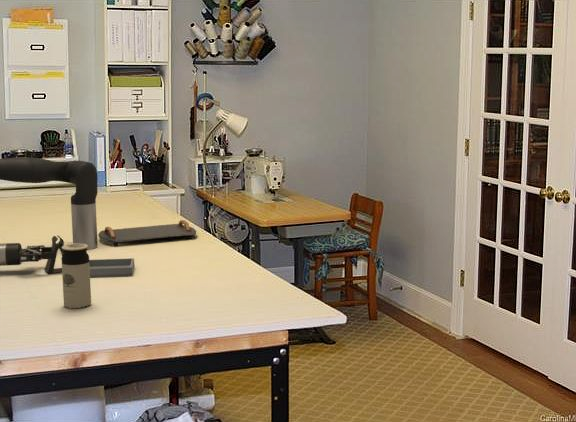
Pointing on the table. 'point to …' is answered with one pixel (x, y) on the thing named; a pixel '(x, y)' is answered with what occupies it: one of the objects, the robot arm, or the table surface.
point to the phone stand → (54, 256)
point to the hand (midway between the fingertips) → (55, 252)
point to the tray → (111, 267)
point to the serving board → (147, 232)
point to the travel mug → (76, 276)
